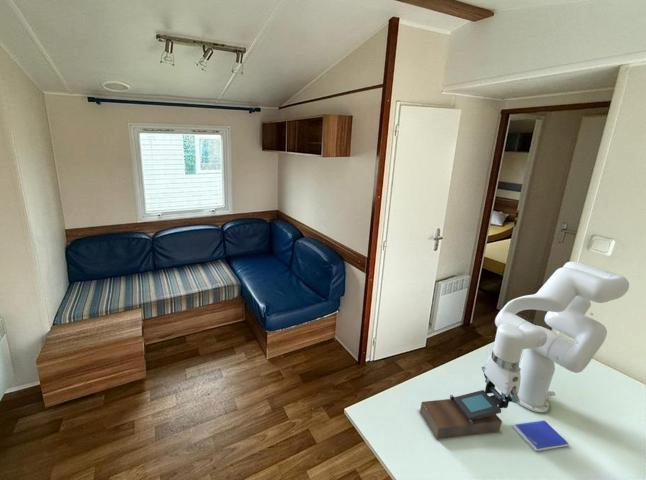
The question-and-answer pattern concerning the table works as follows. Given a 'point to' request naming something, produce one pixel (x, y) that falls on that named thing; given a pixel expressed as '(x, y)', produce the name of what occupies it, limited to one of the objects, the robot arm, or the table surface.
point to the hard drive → (540, 435)
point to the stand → (455, 420)
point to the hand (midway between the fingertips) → (495, 399)
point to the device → (479, 404)
